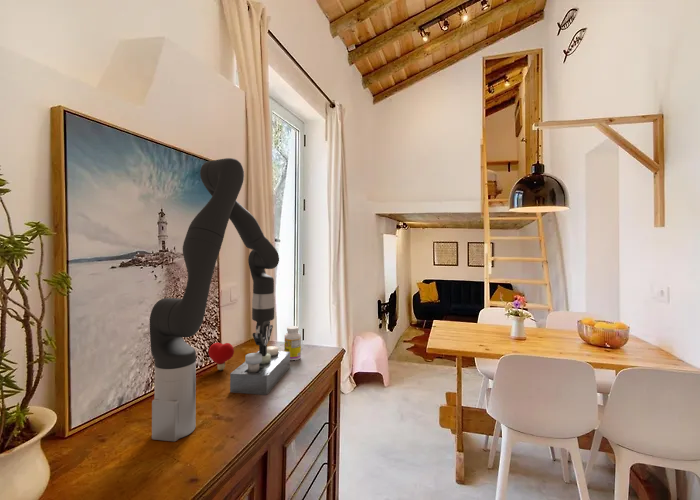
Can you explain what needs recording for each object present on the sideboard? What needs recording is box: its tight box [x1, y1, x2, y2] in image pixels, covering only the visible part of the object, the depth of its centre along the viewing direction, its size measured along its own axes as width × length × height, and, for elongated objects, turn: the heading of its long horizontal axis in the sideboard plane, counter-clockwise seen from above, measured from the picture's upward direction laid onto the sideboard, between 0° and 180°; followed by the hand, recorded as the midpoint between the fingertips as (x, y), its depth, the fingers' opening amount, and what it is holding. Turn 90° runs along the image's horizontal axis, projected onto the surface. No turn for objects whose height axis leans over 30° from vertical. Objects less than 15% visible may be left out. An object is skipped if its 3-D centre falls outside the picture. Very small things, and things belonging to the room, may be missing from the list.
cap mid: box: [259, 353, 271, 364], centre depth 120 cm, size 5×5×5 cm
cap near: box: [244, 352, 262, 373], centre depth 112 cm, size 5×5×5 cm
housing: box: [229, 350, 291, 396], centre depth 120 cm, size 24×12×6 cm, turn 173°
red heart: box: [208, 342, 235, 371], centre depth 128 cm, size 9×7×10 cm
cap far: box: [267, 345, 279, 357], centre depth 128 cm, size 5×5×5 cm
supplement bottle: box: [284, 325, 302, 361], centre depth 142 cm, size 7×7×13 cm
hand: (263, 355), depth 120 cm, fingers closed
